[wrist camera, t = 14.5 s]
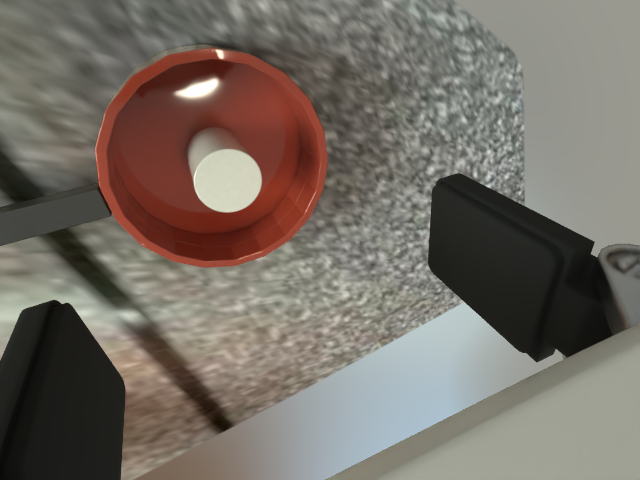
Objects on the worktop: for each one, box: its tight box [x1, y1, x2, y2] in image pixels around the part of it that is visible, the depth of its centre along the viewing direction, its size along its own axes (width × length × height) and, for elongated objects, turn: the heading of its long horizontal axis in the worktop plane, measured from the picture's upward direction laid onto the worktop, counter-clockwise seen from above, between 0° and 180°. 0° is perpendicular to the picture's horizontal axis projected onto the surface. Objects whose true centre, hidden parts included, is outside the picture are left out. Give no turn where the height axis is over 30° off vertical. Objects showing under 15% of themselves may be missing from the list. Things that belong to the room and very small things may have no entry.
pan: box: [95, 44, 328, 268], centre depth 27 cm, size 15×15×5 cm
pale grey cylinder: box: [187, 127, 262, 212], centre depth 26 cm, size 4×4×6 cm
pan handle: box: [0, 183, 112, 246], centre depth 23 cm, size 2×10×1 cm, turn 97°
